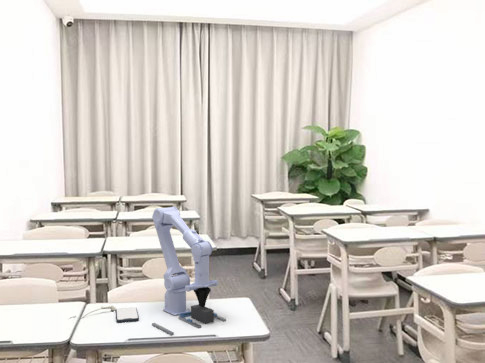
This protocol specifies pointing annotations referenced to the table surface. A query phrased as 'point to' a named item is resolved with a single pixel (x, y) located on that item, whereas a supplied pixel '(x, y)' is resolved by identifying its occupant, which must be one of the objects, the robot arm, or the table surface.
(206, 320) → the dark grey block
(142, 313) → the table surface
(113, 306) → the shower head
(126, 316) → the phone case
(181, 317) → the silver and blue frame
